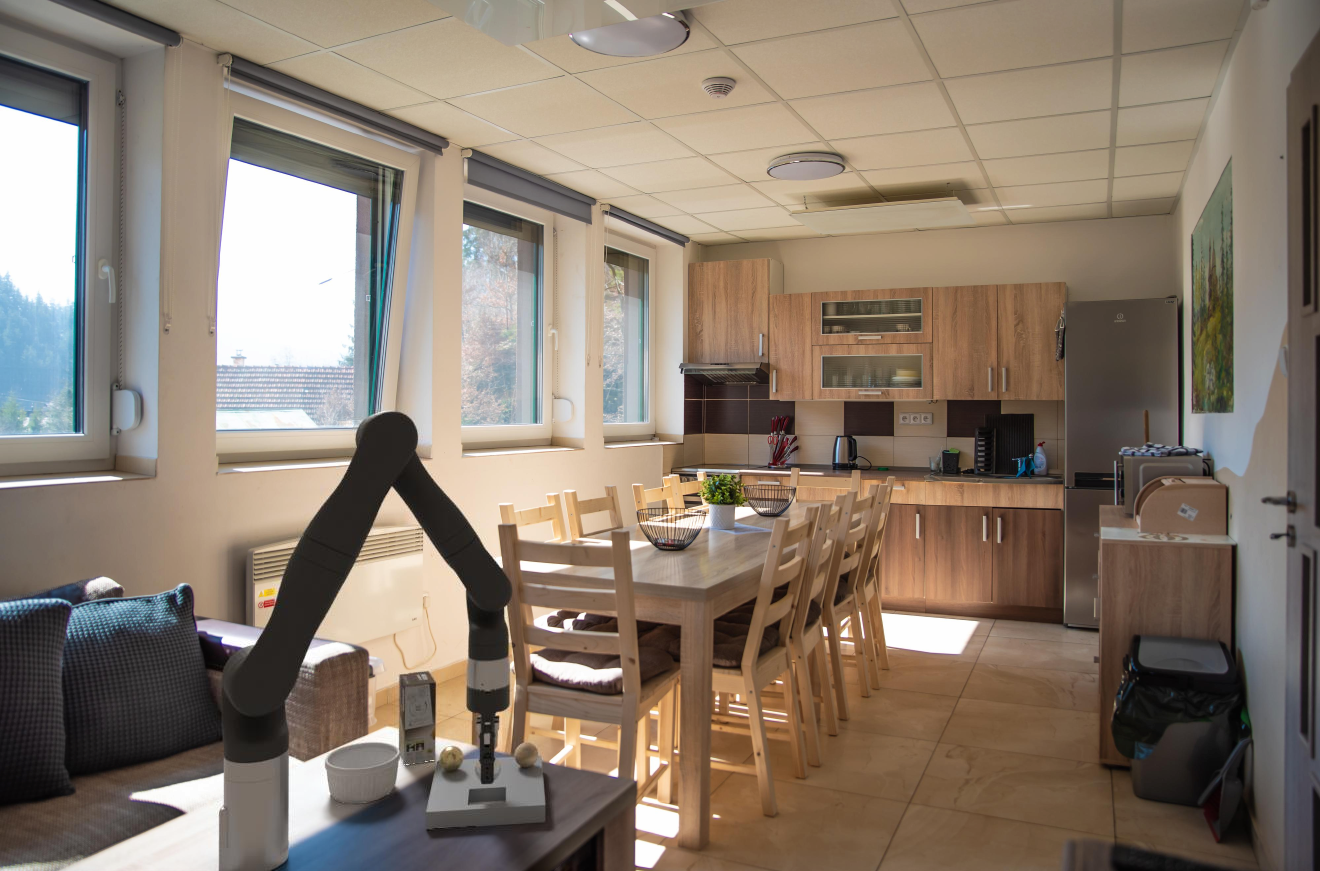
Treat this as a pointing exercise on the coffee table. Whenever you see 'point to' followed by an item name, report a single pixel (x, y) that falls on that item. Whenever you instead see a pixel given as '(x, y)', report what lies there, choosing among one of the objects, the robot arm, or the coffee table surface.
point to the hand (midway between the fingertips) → (487, 776)
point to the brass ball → (451, 758)
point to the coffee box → (417, 717)
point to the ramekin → (362, 771)
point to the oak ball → (526, 754)
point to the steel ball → (496, 769)
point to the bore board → (486, 796)
